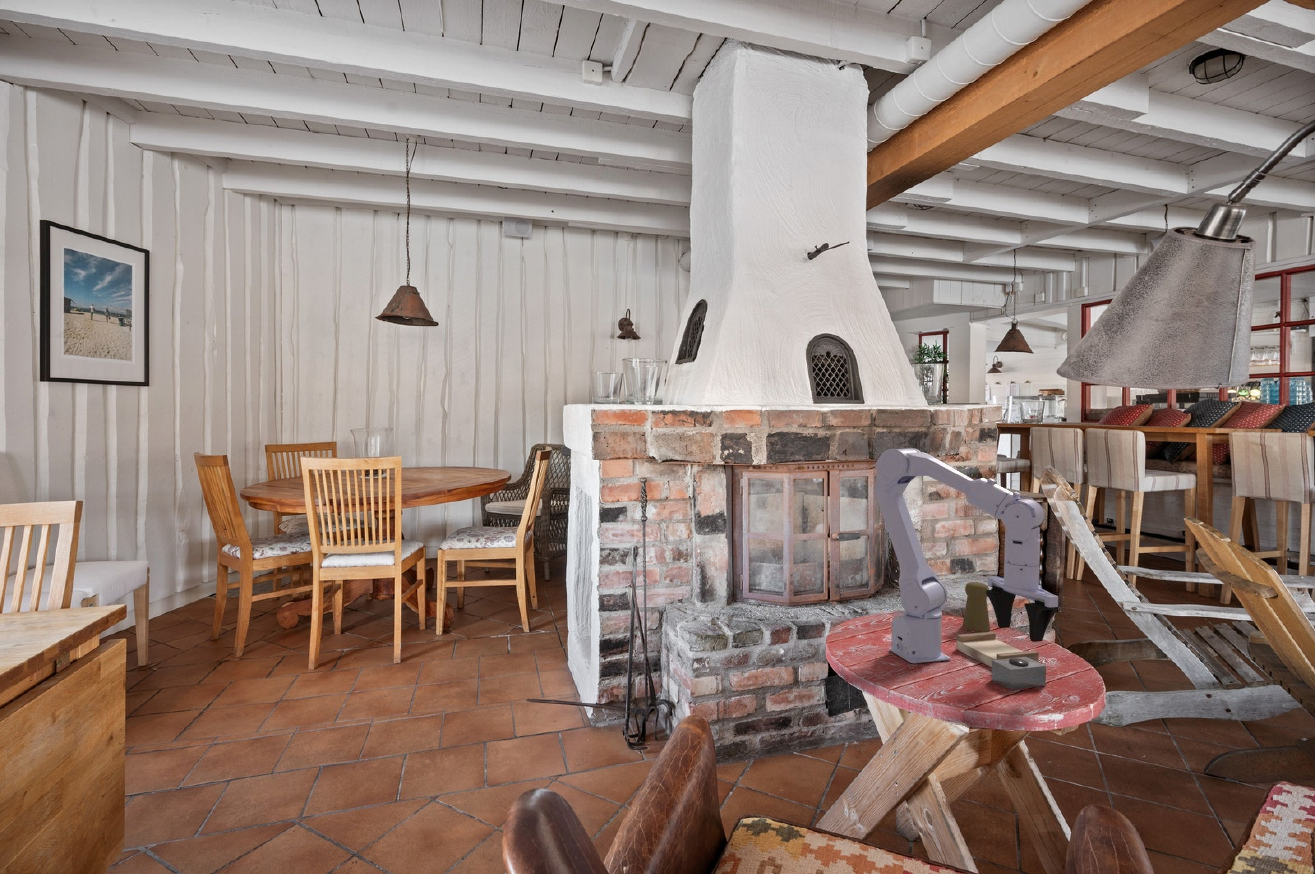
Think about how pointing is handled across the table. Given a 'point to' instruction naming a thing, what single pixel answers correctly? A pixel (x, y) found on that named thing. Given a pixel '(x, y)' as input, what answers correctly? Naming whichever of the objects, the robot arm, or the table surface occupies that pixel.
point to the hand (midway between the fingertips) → (1019, 633)
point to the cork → (976, 608)
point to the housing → (1018, 673)
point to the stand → (990, 648)
